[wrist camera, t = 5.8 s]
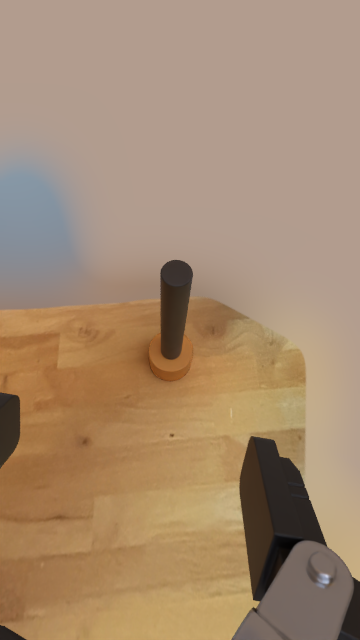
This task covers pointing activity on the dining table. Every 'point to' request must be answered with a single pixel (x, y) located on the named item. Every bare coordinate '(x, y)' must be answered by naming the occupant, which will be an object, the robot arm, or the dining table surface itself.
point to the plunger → (173, 324)
